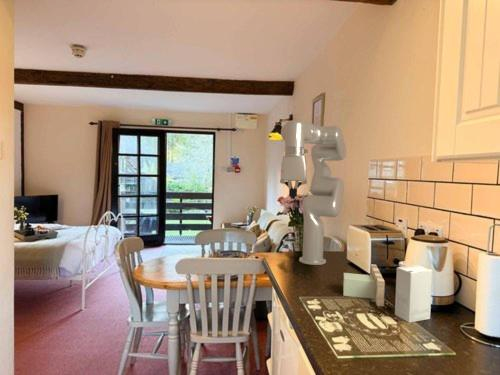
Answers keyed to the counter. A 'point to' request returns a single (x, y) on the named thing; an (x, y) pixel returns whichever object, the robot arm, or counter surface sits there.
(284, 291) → the counter surface
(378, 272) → the birch board
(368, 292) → the sage block
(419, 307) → the skincare box
